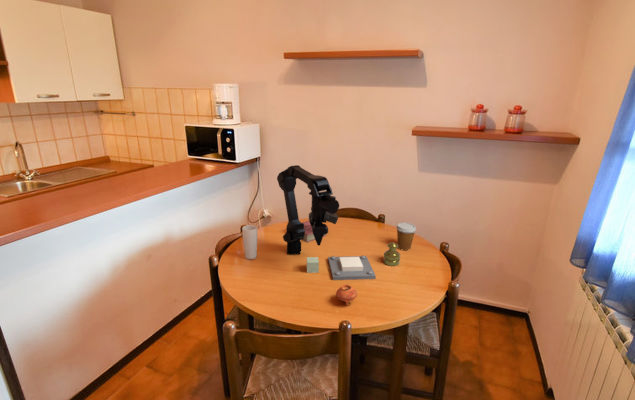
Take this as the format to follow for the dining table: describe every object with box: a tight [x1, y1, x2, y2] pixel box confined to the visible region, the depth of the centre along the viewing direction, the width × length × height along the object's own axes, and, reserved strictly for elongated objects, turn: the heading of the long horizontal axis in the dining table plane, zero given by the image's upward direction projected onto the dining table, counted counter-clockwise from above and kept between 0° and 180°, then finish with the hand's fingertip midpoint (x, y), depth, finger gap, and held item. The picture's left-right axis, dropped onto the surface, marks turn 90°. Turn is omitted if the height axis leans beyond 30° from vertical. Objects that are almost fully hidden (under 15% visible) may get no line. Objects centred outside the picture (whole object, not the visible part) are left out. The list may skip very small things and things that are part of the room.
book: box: [301, 219, 328, 243], centre depth 188 cm, size 14×15×5 cm
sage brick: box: [306, 256, 320, 274], centre depth 151 cm, size 5×5×5 cm
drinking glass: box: [241, 224, 258, 260], centre depth 160 cm, size 7×7×15 cm
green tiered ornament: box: [383, 241, 401, 267], centre depth 159 cm, size 7×7×10 cm
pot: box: [335, 284, 358, 307], centre depth 130 cm, size 8×8×7 cm
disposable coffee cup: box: [395, 222, 417, 251], centre depth 174 cm, size 10×10×12 cm
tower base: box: [327, 255, 377, 281], centre depth 153 cm, size 18×18×4 cm
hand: (317, 240), depth 150 cm, fingers open, 9 cm apart
